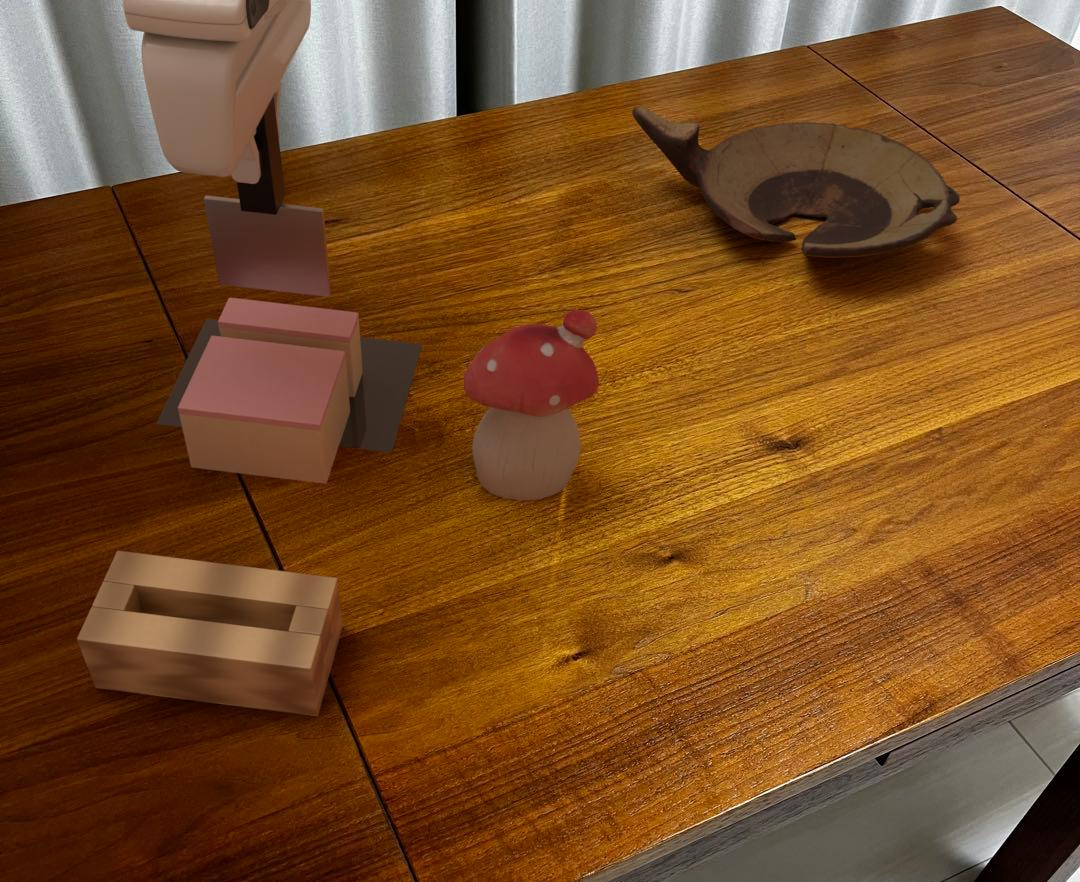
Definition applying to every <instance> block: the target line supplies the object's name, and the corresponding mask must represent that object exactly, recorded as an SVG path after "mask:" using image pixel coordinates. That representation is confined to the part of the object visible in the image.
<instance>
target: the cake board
mask: <svg viewBox="0 0 1080 882" xmlns="http://www.w3.org/2000/svg"><path fill="white" fill-rule="evenodd" d="M218 320H219V319H214V318H206V319H205V321H204V323H203V325H202V327H201V329H200V331H199V333H198V335H197V338H196V339H195V341H194V344H193V346H192V348H191V350H190V351H189V354H188V356H187V358H186V360H185V363H183V364H184V365H183V367H182V369H181V371H180V373H179V375H178V376H177V379H176V381H175V383H174V386H173V388H172V390H171V392H170V394H169V396H168V398H167V400H166V401H165V404H164V406H163V408H162V409H161V410H162V411H161V413H160V414H159V416H158V418H157V420H156V423H155V424H157V425H162V426H171V427H179V428H182V424H181V420H180V416H179V411H178V406H179V404H180V402H181V400H182V398H183V395H184V393H185V391H186V389H187V387H188V385H189V383H190V380H191V378H192V376H193V374H194V372H195V370H196V368H197V365H198V363H199V361H200V359H201V357H202V355H203V353H204V350H205V348H206V346H207V344H208V342H209V340H210V338H211V336H220V337H221V335H220V329H219V325H218ZM360 343H361V357H362V372H363V373H362V376H361V379H360V382H359V385H358V388H357V392H356V395H355V397H349V403H350V414H349V417H348V420H347V423H346V426H345V429H344V432H343V435H342V438H341V441H340V445H339V447H344V448H352V449H353V448H354V449H360V450H368V451H369V450H370V451H375V452H377V451H378V452H385V453H393V451H394V448H395V443H396V440H397V438H398V434H399V430H400V426H401V422H402V418H403V415H404V412H405V408H406V404H407V401H408V397H409V393H410V390H411V387H412V383H413V379H414V375H415V372H416V369H417V365H418V361H419V359H420V358H419V357H420V354H421V350H422V348H423V344H422V343H418V342H417V343H416V342H407V341H399V340H391V339H382V338H373V337H366V336H360Z"/></svg>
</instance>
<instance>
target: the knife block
mask: <svg viewBox="0 0 1080 882" xmlns="http://www.w3.org/2000/svg"><path fill="white" fill-rule="evenodd" d="M109 565H110V566H109V568H108V570H107V572H106V574H105V576H104V578H103V581H102V584H101V586H100V587H99V590H98V591H97V594H96V596H95V598H94V600H93V603H92V605H91V607H90V609H89V611H88V614H87V616H86V618H85V620H84V622H83V625H82V627H81V629H80V631H79V633H78V635H77V638H76V641H77V644H78V646H79V650H80V651H81V654H82V657H83V659H84V661H85V664H86V667H87V669H88V672H89V675H90V678H91V680H92V682H93V685H94V687H95V688H96V689H102V690H108V691H109V690H111V691H118V692H125V693H126V692H127V693H133V694H141V695H149V696H155V697H165V698H172V699H173V698H174V699H181V700H188V701H195V702H203V703H211V704H217V705H218V704H220V705H227V706H234V707H235V706H236V707H242V708H251V709H259V710H267V711H273V712H282V713H289V714H297V715H305V716H312V717H313V716H314V717H318V716H319V713H320V710H321V706H322V702H323V700H324V699H323V698H324V695H325V691H326V689H327V688H326V687H327V684H328V681H329V677H330V674H331V670H332V666H333V663H334V659H335V655H336V652H337V648H338V645H339V642H340V639H341V634H342V631H343V627H344V626H343V625H344V624H343V617H342V609H341V598H340V589H339V588H340V587H339V581H338V580H339V579H338V577H332V576H324V575H315V574H307V573H300V572H294V571H293V572H292V571H285V570H277V569H267V568H259V567H251V566H245V565H244V566H243V565H235V564H228V563H219V562H213V561H204V560H195V559H187V558H180V557H173V556H172V557H171V556H165V555H157V554H147V553H139V552H132V551H124V550H116V552H115V554H114V557H113V559H112V561H111V564H109Z"/></svg>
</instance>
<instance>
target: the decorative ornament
mask: <svg viewBox="0 0 1080 882" xmlns="http://www.w3.org/2000/svg"><path fill="white" fill-rule="evenodd" d="M597 330H598V324H597V320H596V319H595V317H594V315H593V314H591V313H590V312H589V311H587V310H583V309H572V310H570V311H568V312H567V313H566V314H565V315H564V317H563V321H562V325H561V326H551V325H545V324H542V323H541V324H525V325H518V326H515V327H512V328H511V329H509V330H507V331H505V332H504V333H502V334H501V335H499V336H498V337H497V338H495V339H494V340H492V341H491V342H489V343H488V344H486V345H484V346H483V347H481V349H480V350H479V351H478V352H477V353H476V354H475V356H474V357H473V359H472V360H471V362H470V363H469V364H468V366H467V368H466V370H465V372H464V373H463V391H464V393H465V394H466V396H467V398H469V399H470V400H472V401H474V402H475V403H476V404H479V405H480V406H483V407H486V408H487V407H488V408H487V410H486V412H485V413H484V415H483V416H482V418H481V419H480V421H479V423H478V425H477V427H476V429H475V432H474V435H473V437H472V438H473V439H472V442H471V443H472V444H471V445H472V446H471V448H472V449H471V451H472V452H471V453H472V457H473V463H474V471H475V474H476V478H477V481H478V482H479V483H480V485H481V487H482V488H484V489H485V490H486V491H487V492H488V493H490V494H491V495H492V496H496V497H499V498H503V499H507V500H514V501H536V500H542V499H546V498H549V497H552V496H554V495H556V494H558V493H560V492H563V491H564V489H565V488H566V486H567V485H568V483H569V481H570V480H571V477H572V475H573V473H574V470H575V469H576V467H577V464H578V462H579V459H580V455H581V450H582V443H581V436H580V431H579V428H578V424H577V422H576V419H575V417H574V416H573V413H571V411H570V410H569V409H570V408H572V407H573V406H576V405H577V404H579V403H581V402H583V401H586V400H587V399H590V398H593V397H594V396H595V394H597V392H598V389H599V385H600V384H599V383H600V378H599V373H598V369H597V368H596V364H595V362H594V360H593V359H592V357H591V356H590V355H589V353H588V351H587V350H586V349H585V348H584V346H583V345H584V344H583V343H584V342H586V341H587V340H589V339H591V338H593V337H594V336H595V335H596V333H597Z"/></svg>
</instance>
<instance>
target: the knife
mask: <svg viewBox="0 0 1080 882" xmlns="http://www.w3.org/2000/svg"><path fill="white" fill-rule="evenodd" d="M254 139H255V142H256V145H257V147H260V148H262V151H263V162H264V170H263V172H262V175H261V176H260V179H259V181H258V182H257V183H255V184H250V183H241V182H237V181H236V186H237V193H238V198H232V197H223V196H215V195H205V196H204V197H203V201H204V208H205V212H206V213H205V214H206V219H207V224H208V229H209V235H210V236H209V237H210V241H211V247H212V252H213V257H214V263H215V269H216V274H217V281H218V285H220V286H230V287H239V288H247V289H256V290H265V291H273V292H283V293H290V294H300V295H307V296H318V297H326V298H331V296H332V287H331V286H332V285H331V277H330V265H329V264H330V263H329V254H328V244H327V243H328V242H327V234H326V224H325V223H326V221H325V211H324V208H322V207H315V206H304V205H296V204H285V203H283V202H284V200H285V197H286V188H285V180H284V172H283V171H284V170H283V163H282V154H281V153H282V152H281V146H280V145H281V144H280V138H279V136H278V128H277V119H276V111H275V103H274V95H273V97H272V99H271V101H270V103H269V105H268V107H267V109H266V111H265V112H264V114H263V116H262V118H261V120H260V122H259V124H258V126H257V128H256V134H255V135H254Z"/></svg>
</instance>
